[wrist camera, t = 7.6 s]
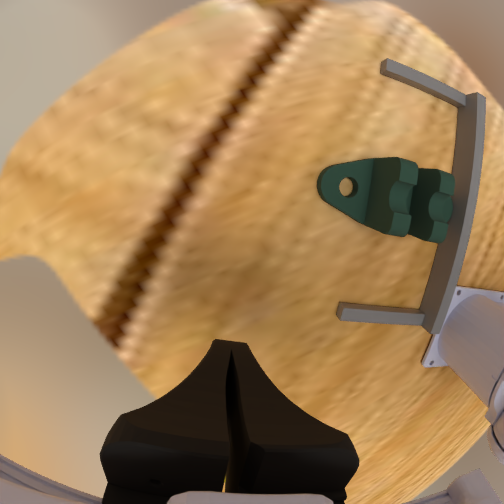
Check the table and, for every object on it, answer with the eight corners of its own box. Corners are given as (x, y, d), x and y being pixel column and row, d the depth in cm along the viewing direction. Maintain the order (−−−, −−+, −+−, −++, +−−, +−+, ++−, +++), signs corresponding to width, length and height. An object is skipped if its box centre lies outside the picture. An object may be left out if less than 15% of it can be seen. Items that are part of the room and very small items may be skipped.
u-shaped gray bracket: (466, 101, 18) (485, 97, 16) (424, 320, 23) (439, 334, 20) (381, 62, 17) (396, 51, 15) (336, 314, 22) (346, 330, 20)
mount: (447, 181, 20) (489, 186, 15) (438, 236, 21) (478, 251, 16) (320, 149, 19) (346, 142, 14) (311, 214, 20) (333, 227, 16)
